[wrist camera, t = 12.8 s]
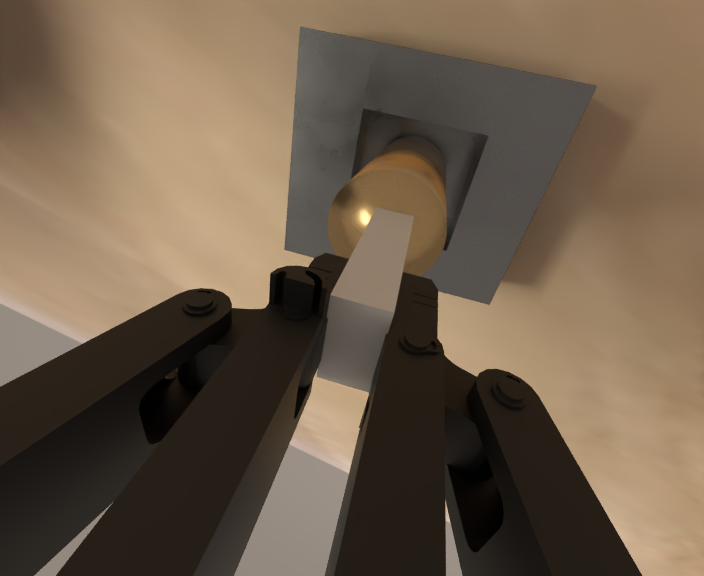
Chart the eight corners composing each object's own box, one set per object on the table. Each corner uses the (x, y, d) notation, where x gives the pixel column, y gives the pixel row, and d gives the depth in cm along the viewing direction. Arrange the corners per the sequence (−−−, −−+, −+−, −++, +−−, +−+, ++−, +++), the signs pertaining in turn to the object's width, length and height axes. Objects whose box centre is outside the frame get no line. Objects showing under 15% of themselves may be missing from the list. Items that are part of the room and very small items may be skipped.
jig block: (302, 231, 30) (284, 249, 26) (321, 35, 22) (300, 26, 19) (483, 278, 28) (489, 304, 25) (571, 85, 20) (596, 86, 17)
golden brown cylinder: (369, 200, 26) (321, 269, 16) (382, 129, 23) (335, 157, 13) (434, 215, 25) (427, 296, 15) (455, 144, 23) (464, 185, 12)
